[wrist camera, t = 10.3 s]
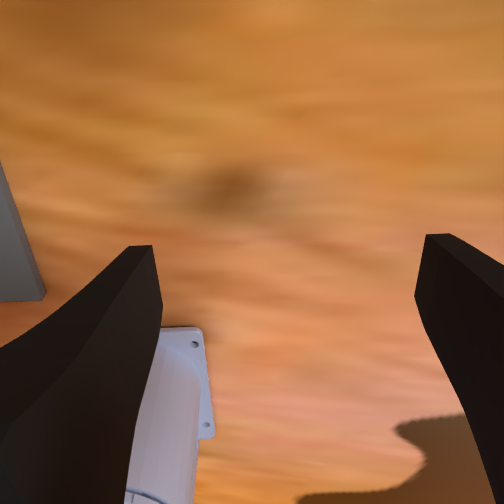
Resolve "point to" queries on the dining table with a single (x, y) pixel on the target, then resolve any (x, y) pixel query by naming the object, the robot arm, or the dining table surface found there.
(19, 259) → the grey board with rings
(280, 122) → the dining table surface
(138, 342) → the robot arm
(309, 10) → the dining table surface
